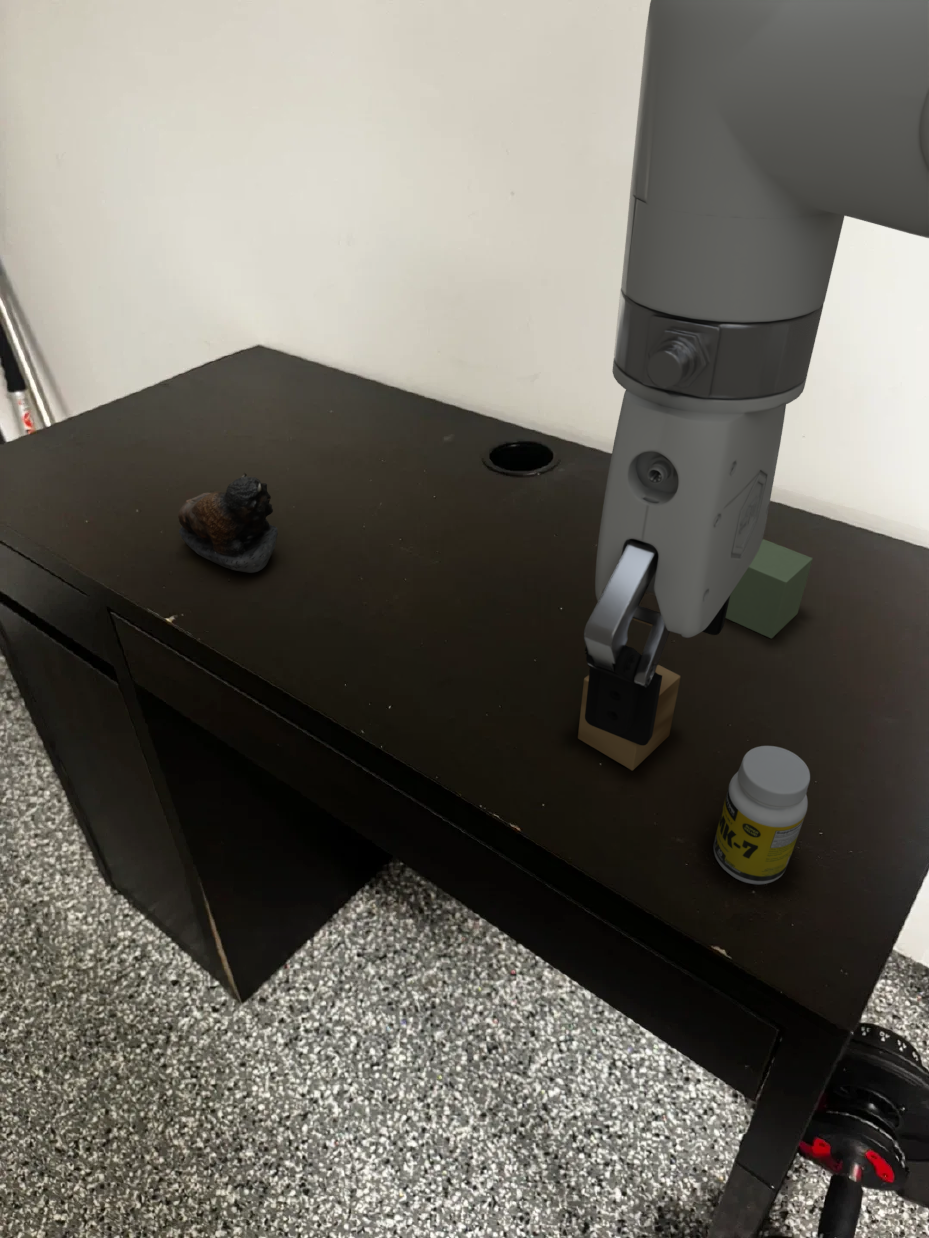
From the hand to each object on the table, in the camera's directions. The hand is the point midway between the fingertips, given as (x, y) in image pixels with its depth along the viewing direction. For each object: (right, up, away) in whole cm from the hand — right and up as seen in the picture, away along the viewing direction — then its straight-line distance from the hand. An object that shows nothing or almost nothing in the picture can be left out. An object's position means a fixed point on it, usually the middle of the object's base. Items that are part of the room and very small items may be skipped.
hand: (657, 674), depth 45 cm
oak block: (+2, -6, +23) cm, 24 cm away
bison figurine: (-33, +9, +43) cm, 54 cm away
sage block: (+17, +3, +35) cm, 39 cm away
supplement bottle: (+9, -13, +14) cm, 21 cm away
